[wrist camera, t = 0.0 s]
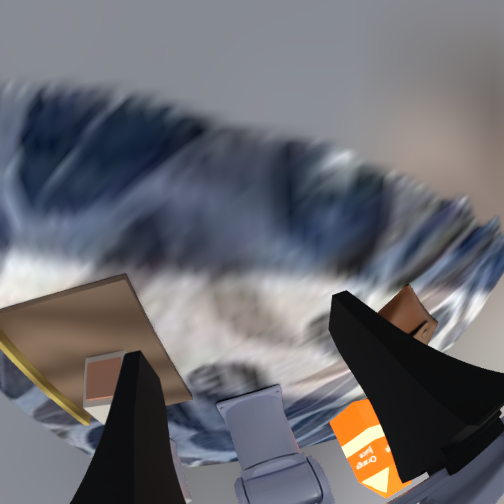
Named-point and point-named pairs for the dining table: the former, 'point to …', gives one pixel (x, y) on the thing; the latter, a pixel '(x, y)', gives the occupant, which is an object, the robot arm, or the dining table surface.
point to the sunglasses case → (410, 315)
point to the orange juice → (367, 448)
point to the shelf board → (83, 340)
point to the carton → (101, 383)
